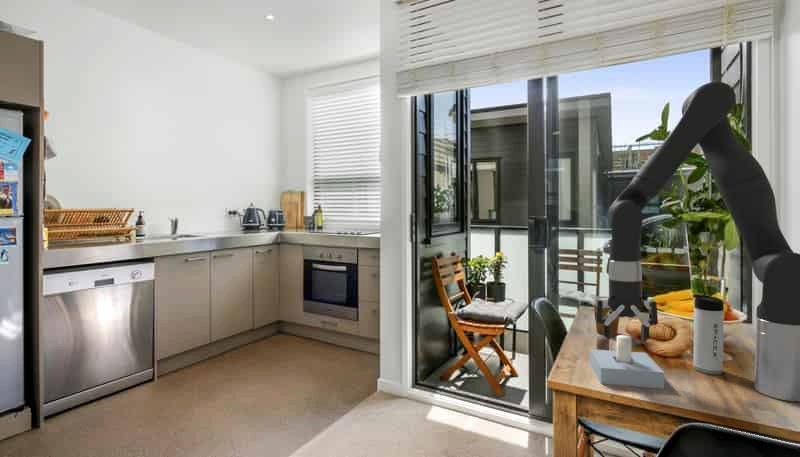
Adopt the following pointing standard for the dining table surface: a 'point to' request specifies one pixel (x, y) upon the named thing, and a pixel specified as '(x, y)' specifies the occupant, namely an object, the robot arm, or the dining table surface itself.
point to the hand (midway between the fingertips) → (625, 339)
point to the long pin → (623, 349)
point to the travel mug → (708, 334)
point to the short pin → (602, 343)
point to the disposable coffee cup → (605, 310)
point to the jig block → (626, 369)
